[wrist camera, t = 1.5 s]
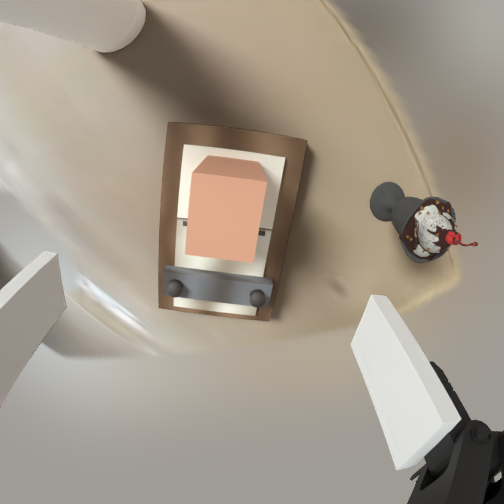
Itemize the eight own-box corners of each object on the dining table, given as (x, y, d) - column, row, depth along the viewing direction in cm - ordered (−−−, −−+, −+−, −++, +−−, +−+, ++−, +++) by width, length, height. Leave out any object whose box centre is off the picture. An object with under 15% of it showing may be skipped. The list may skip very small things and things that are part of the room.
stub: (178, 215, 31) (151, 259, 22) (184, 144, 28) (156, 157, 19) (271, 227, 32) (284, 276, 23) (284, 157, 29) (305, 176, 20)
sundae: (418, 196, 34) (496, 243, 20) (388, 236, 36) (452, 300, 22) (386, 163, 32) (465, 198, 18) (353, 207, 34) (415, 265, 21)
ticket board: (162, 297, 39) (152, 324, 33) (173, 122, 30) (159, 122, 24) (268, 309, 40) (271, 338, 35) (302, 139, 31) (315, 143, 26)
